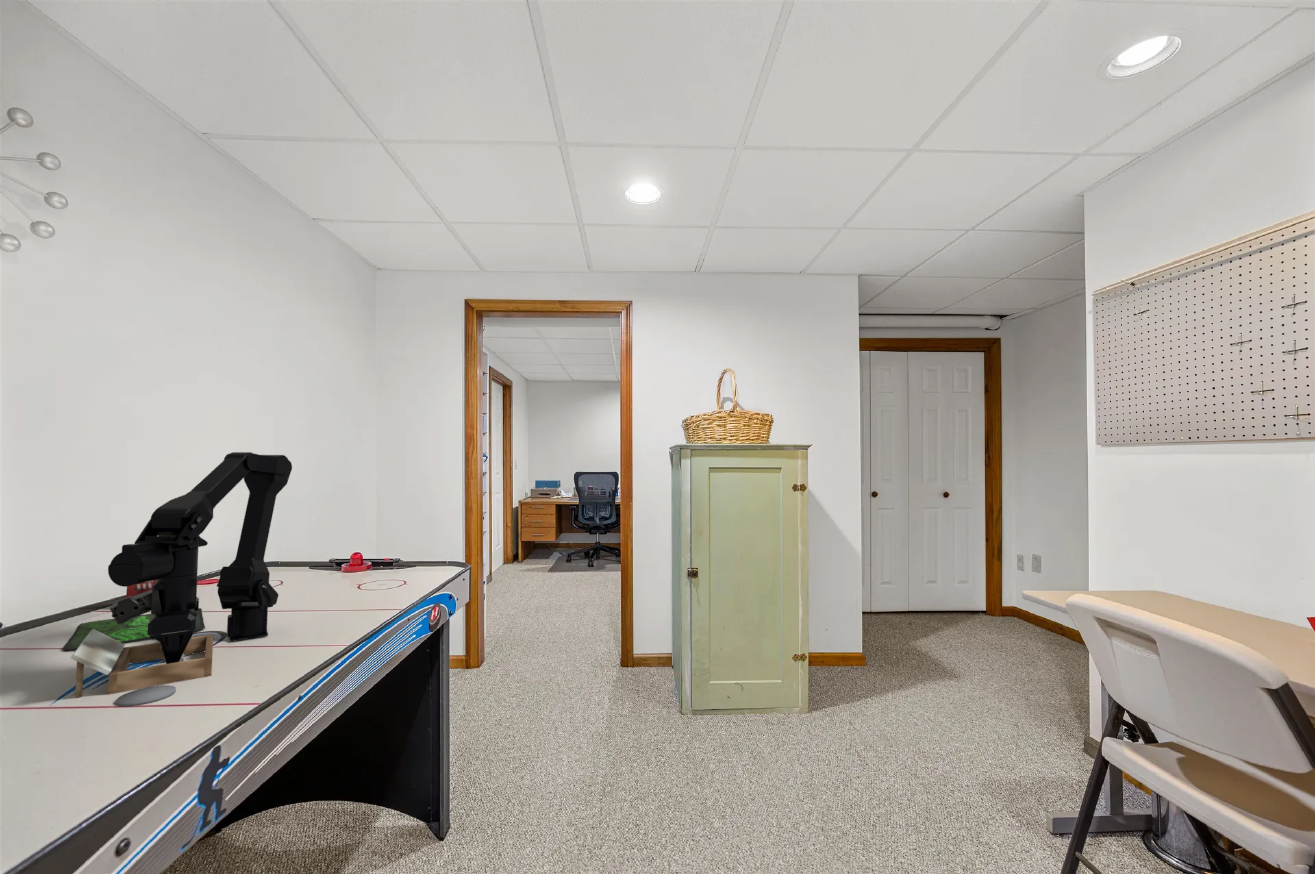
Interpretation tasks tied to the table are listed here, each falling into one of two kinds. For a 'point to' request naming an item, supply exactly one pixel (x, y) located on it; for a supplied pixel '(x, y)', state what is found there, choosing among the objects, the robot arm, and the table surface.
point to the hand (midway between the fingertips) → (173, 661)
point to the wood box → (107, 651)
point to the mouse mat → (120, 630)
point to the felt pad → (146, 695)
